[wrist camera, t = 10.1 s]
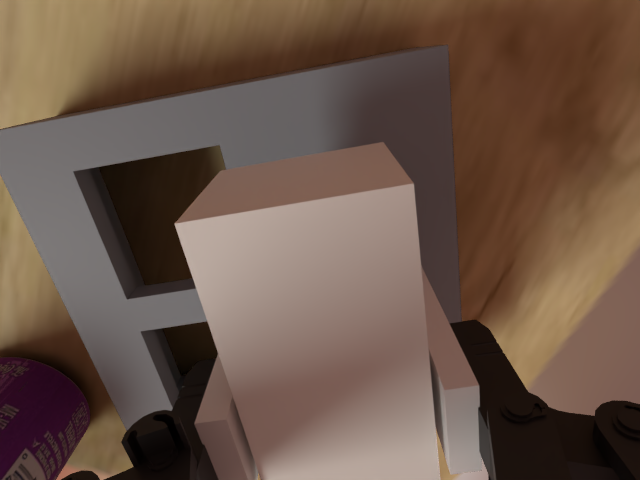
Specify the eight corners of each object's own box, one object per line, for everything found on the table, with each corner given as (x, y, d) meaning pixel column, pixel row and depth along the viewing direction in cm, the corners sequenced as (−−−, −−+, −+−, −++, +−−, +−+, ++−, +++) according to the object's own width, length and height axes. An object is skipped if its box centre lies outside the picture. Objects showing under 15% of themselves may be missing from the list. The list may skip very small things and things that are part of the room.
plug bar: (258, 126, 19) (174, 223, 8) (358, 108, 19) (414, 182, 8) (308, 341, 24) (298, 589, 13) (387, 329, 23) (448, 574, 12)
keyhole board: (169, 391, 25) (139, 457, 21) (55, 116, 19) (-20, 133, 14) (440, 352, 24) (466, 415, 20) (417, 47, 17) (448, 44, 13)
